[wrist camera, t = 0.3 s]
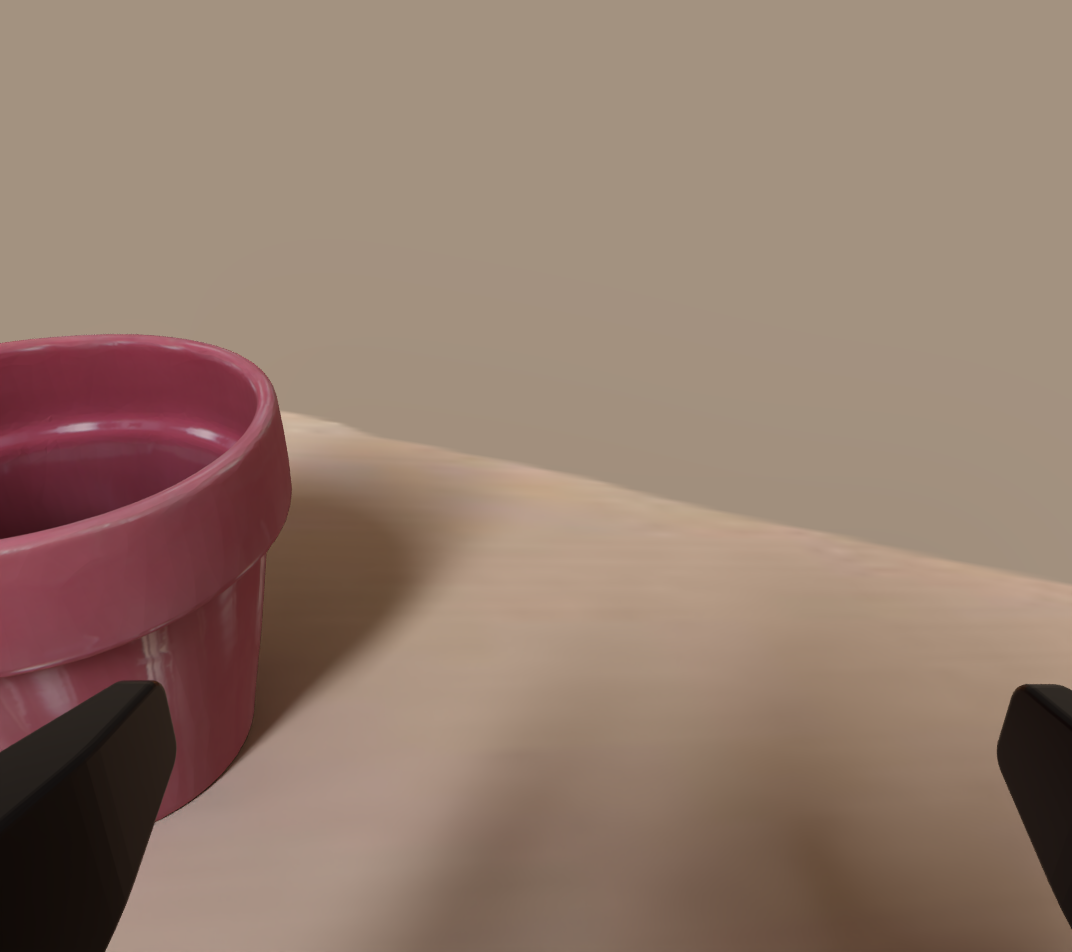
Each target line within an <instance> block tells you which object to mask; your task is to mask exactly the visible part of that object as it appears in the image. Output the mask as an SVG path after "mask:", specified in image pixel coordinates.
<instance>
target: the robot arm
mask: <svg viewBox="0 0 1072 952" xmlns="http://www.w3.org/2000/svg"><path fill="white" fill-rule="evenodd" d="M176 752H177V743H176V737H175V732H174V728H173V723H172V718H171V714H170V709H169V705H168V700H167V696H166V692H165V689H164V687H163V686H162V684H161V683H159V682H157V681H155V680H122V681H118V682H116V683H114V684H112V685H111V686H109V687H107V688H106V689H104V690H102V691H101V692H99V693H97V694H96V695H94V696H92V697H91V698H89V699H87V700H86V701H84V702H82V703H81V704H79V705H77V706H76V707H74V708H72V709H71V710H69V711H67V712H66V713H64V714H62V715H61V716H59V717H57V718H56V719H54V720H52V721H51V722H49V723H47V724H46V725H44V726H42V727H41V728H39V729H37V730H36V731H34V732H32V733H31V734H29V735H27V736H26V737H24V738H22V739H21V740H19V741H17V742H16V743H14V744H12V745H11V746H9V747H7V748H6V749H4V750H2V751H1V752H0V952H105V951H106V949H107V947H108V944H109V942H110V940H111V938H112V936H113V933H114V931H115V929H116V927H117V925H118V922H119V920H120V918H121V915H122V913H123V911H124V908H125V906H126V904H127V901H128V898H129V896H130V893H131V890H132V887H133V885H134V882H135V879H136V876H137V873H138V870H139V867H140V865H141V862H142V859H143V856H144V853H145V850H146V847H147V844H148V841H149V838H150V835H151V832H152V829H153V826H154V823H155V820H156V817H157V814H158V812H159V809H160V806H161V803H162V800H163V797H164V794H165V791H166V788H167V785H168V782H169V779H170V776H171V773H172V770H173V767H174V764H175V759H176ZM997 759H998V764H999V767H1000V770H1001V773H1002V775H1003V777H1004V780H1005V782H1006V784H1007V787H1008V789H1009V791H1010V794H1011V796H1012V798H1013V801H1014V803H1015V805H1016V808H1017V810H1018V812H1019V814H1020V817H1021V819H1022V821H1023V824H1024V826H1025V828H1026V831H1027V833H1028V835H1029V838H1030V840H1031V842H1032V845H1033V847H1034V849H1035V852H1036V854H1037V856H1038V859H1039V861H1040V863H1041V866H1042V868H1043V870H1044V872H1045V875H1046V877H1047V879H1048V882H1049V884H1050V886H1051V888H1052V890H1053V893H1054V895H1055V897H1056V899H1057V901H1058V903H1059V905H1060V908H1061V909H1062V911H1063V913H1064V915H1065V917H1066V919H1067V921H1068V923H1069V925H1070V927H1071V929H1072V690H1070V689H1068V688H1066V687H1064V686H1061V685H1056V684H1025V685H1022V686H1019V687H1018V688H1017V689H1016V690H1015V691H1014V692H1013V695H1012V697H1011V700H1010V703H1009V707H1008V710H1007V713H1006V717H1005V720H1004V723H1003V727H1002V730H1001V733H1000V737H999V740H998V745H997Z"/></svg>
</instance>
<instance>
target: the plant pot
mask: <svg viewBox="0 0 1072 952" xmlns="http://www.w3.org/2000/svg"><path fill="white" fill-rule="evenodd" d="M291 493H292V487H291V477H290V467H289V459H288V453H287V447H286V441H285V435H284V429H283V424H282V420H281V415H280V410H279V405H278V401H277V396H276V393H275V390H274V388H273V385H272V383H271V382H270V380H269V379H268V377H267V376H266V375H265V373H264V372H263V371H262V370H261V369H260V368H258V367H257V366H256V365H255V364H254V363H252V362H251V361H249V360H247V359H246V358H244V357H242V356H240V355H239V354H237V353H234V352H232V351H229V350H227V349H224V348H221V347H218V346H215V345H211V344H207V343H203V342H198V341H192V340H187V339H180V338H173V337H164V336H154V335H138V334H135V335H134V334H103V335H102V334H101V335H76V336H62V337H49V338H39V339H28V340H21V341H13V342H5V343H0V752H1V751H2V750H4V749H6V748H7V747H9V746H11V745H12V744H14V743H16V742H17V741H19V740H21V739H22V738H24V737H26V736H27V735H29V734H31V733H32V732H34V731H36V730H37V729H39V728H41V727H42V726H44V725H46V724H47V723H49V722H51V721H52V720H54V719H56V718H57V717H59V716H61V715H62V714H64V713H66V712H67V711H69V710H71V709H72V708H74V707H76V706H77V705H79V704H81V703H82V702H84V701H86V700H87V699H89V698H91V697H92V696H94V695H96V694H97V693H99V692H101V691H102V690H104V689H106V688H107V687H109V686H111V685H112V684H114V683H116V682H118V681H122V680H155V681H157V682H159V683H161V684H162V686H163V687H164V689H165V692H166V696H167V700H168V705H169V709H170V714H171V718H172V723H173V728H174V732H175V737H176V743H177V752H176V759H175V764H174V767H173V770H172V773H171V776H170V779H169V782H168V785H167V788H166V791H165V794H164V797H163V800H162V803H161V806H160V809H159V812H158V814H157V817H156V820H155V821H157V820H160V819H162V818H163V817H165V816H167V815H168V814H170V813H172V812H174V811H175V810H177V809H179V808H180V807H182V806H183V805H185V804H186V803H188V802H190V801H191V800H192V799H194V798H195V797H196V796H198V795H199V794H200V793H201V792H203V791H204V790H205V789H206V788H207V787H208V786H210V785H211V784H212V783H213V782H214V781H215V780H216V779H217V778H218V777H219V776H220V775H221V774H222V773H223V772H224V771H225V770H226V768H227V767H228V766H229V765H230V764H231V762H232V761H233V760H234V758H235V757H236V756H237V754H238V753H239V751H240V748H241V747H242V745H243V744H244V742H245V740H246V737H247V735H248V733H249V730H250V727H251V724H252V721H253V715H254V705H255V690H256V679H257V669H258V658H259V648H260V639H261V627H262V613H263V599H264V584H265V568H266V552H267V551H268V550H269V548H270V546H271V545H272V544H273V542H274V541H275V540H276V538H277V536H278V535H279V533H280V531H281V529H282V527H283V525H284V523H285V521H286V518H287V515H288V511H289V507H290V502H291Z"/></svg>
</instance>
